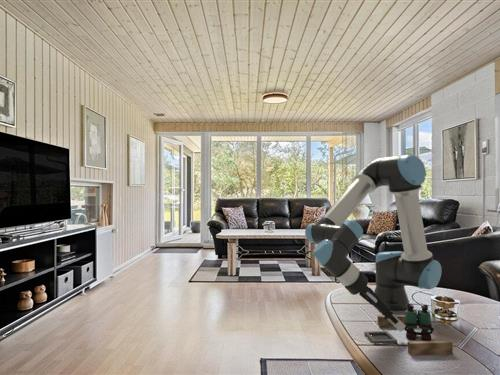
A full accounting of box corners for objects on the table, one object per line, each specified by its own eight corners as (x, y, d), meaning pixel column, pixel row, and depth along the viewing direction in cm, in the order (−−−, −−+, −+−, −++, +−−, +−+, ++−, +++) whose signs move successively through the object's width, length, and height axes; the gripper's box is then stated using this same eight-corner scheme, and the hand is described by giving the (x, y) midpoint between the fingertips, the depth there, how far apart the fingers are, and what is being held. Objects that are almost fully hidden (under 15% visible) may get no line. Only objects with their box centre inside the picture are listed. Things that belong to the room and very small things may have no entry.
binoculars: (405, 312, 117) (403, 301, 126) (405, 344, 117) (403, 330, 127) (436, 315, 114) (431, 303, 123) (436, 347, 115) (431, 332, 124)
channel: (410, 355, 107) (409, 343, 107) (377, 325, 132) (377, 315, 132) (452, 354, 108) (452, 342, 108) (412, 324, 133) (412, 314, 133)
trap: (373, 344, 116) (372, 341, 116) (364, 334, 124) (364, 331, 124) (397, 343, 116) (397, 340, 116) (387, 333, 124) (387, 331, 124)
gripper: (338, 282, 126) (386, 329, 126) (350, 292, 113) (403, 344, 113) (353, 266, 126) (401, 313, 126) (366, 274, 113) (419, 327, 113)
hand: (402, 328), depth 119 cm, fingers closed
